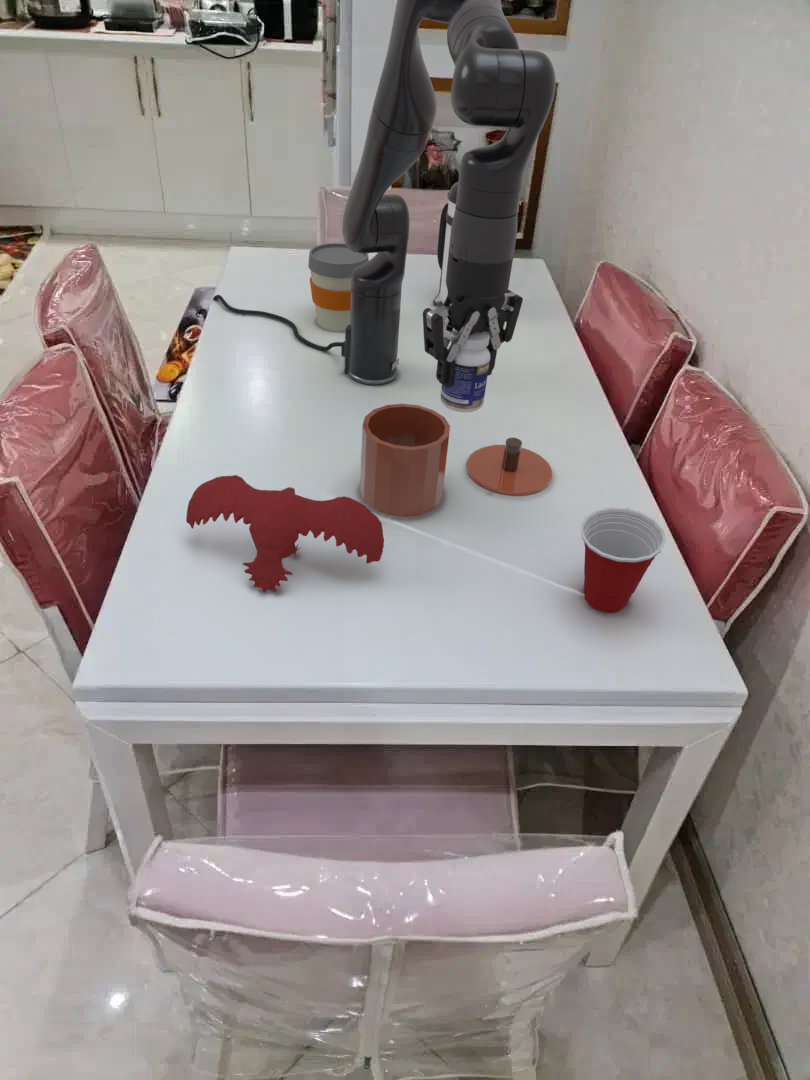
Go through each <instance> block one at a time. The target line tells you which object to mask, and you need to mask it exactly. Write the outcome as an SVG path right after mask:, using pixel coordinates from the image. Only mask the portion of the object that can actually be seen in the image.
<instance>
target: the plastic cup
mask: <svg viewBox="0 0 810 1080" xmlns="http://www.w3.org/2000/svg"><path fill="white" fill-rule="evenodd" d="M579 527H580V528H579V529H580V537H581V539H582V541H583V543H584V564H583V565H584V568H583V576H584V580H583V581H584V582H583V594H584V600H585V601H586V603H587V604H588V605H589V606H591V608H593V609H594V610H597V611H598V612H602V613H608V614H609V613H610V614H612V613H618V612H619V611H621V610H623V609H624V608H625V607H626V606H627V604H628V602H629V600H630V599H631V597H632V595H633V594H634V593H635V592H636V590H637V588H638V586H639V584H640V583H641V581H642V579H643V577H644V576H645V574H646V572H647V570H648V569H649V567H650V566H651V564H652V562H653V561H654V560H655V558H656V557H657V555H659V554H660V553H661V552H662V551H663V549H664V547H665V544H666V542H667V536H666V533H665V529H664V528H663V527H662V526H661V525H660V524H659V523H658V521H657V520H656V519H654V518H652V517H651V516H649V515H647V514H645V513H643V512H641V511H637V510H634V509H631V508H627V507H607V508H602V509H597V510H594V511H593V512H591V513H590V514H588V515H586V516H585V517H584V518H583V520H582V521H581V524H580V525H579Z"/></svg>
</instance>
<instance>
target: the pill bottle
mask: <svg viewBox="0 0 810 1080" xmlns="http://www.w3.org/2000/svg"><path fill="white" fill-rule="evenodd" d="M453 333H455V334H456V335H458V334H459V332H458V331H457V330H455V329H454V328H453ZM489 337H490V335H489V333H488V332H486V331H483V332H475V333H473V334H471V335H469V336H468V338H467V340H466V342H465V344H464V345H463V346H460V348H459V350H458V352H457V355H456V357H455V359H454V360H455V361H456V362H455V370H454V378H453V385H452V386H451V387H447V388H446V387H445V386H443V385H442V384H441V387H440V388H441V389H440V402H441V404H442V405H443V406H444V407H445V408H447V409H449V410H450V411H454V412H457V413H473V412H476V411H478V410H480V409H481V408H482V407H483V405H484V403H485V395H486V389H487V382H488V370H489V364H490V352H489V350H488V349H487V348H486V347H487V346H488V344H489ZM449 347H450V345H448V347H447V349H449Z"/></svg>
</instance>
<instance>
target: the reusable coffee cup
mask: <svg viewBox="0 0 810 1080" xmlns="http://www.w3.org/2000/svg"><path fill="white" fill-rule="evenodd" d="M369 260H370V259H369V253H357V252H353V251H351V250H350V249H349V248H348V247H347V245H346V244H345V243H342V242H341V243H340V242H332V243H322V244H319V245H316V246H314V247H312V248H311V249H310V250H309V253H308V263H307V264H308V265H307V267H308V269H309V271H310V278H309V284H310V285H309V286H310V291H311V292H310V293H311V300H312V302H313V304H314V307H315V315H316V321H317V325H318V326H319V327H320V328H321V329H324V330H326V331H329V332H330V331H331V332H339V333H341V332H342V333H343V332H345V329H346V326H348V325H349V324H350V305H351V275H352V272H353V270H354V269H355V268H357V267H358V266H360V265H362V264H364V263H366V262H367V261H369Z"/></svg>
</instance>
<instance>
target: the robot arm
mask: <svg viewBox="0 0 810 1080" xmlns="http://www.w3.org/2000/svg"><path fill="white" fill-rule="evenodd" d="M423 20H427V21H433V22H436V23H437V22H438V23H444V24H448V25H447V32H446V42H447V43H446V44H447V48H448V52H449V55H450V57H451V60H452V62H453V65H454V71H453V75H452V80H451V88H450V98H451V99H450V100H451V106H452V109H453V112H454V114H455V115H456V116H457V118H458V119H459V120H461V121H462V122H463V123H465V124H466V125H469V126H474V127H493V128H507V130H506V132H505V133H504V134H503V136H502V137H501V138H500V139H499V140H497V141H495V142H494V143H491V144H488V145H484V146H483V145H482V146H479V147H476V148H472V149H469V150H468V151H465V153H464V154H463V156H461V157H462V158H461V160H460V165H459V170H458V171H459V173H458V180H457V182H458V190H457V199H456V208H455V213H454V217H453V221H452V226H451V235H450V244H449V254H448V263H447V273H446V286H447V290H448V295H447V298H446V300H445V302H444V303H442V304H443V305H442V306H440V307H438V308H435V309H431V308H430V307H426V308H425V309H424V310H423V312H422V326H423V345H424V346H423V347H424V348H423V349H424V352H425V353H427V355H430V356H431V357H433V358H434V359H435V360H436V361H437V363H436V372H435V377H436V380H437V381H438V382H439V384H440V385H441V386H442V385H443V386H445V387H446V388H447V387H451V386H452V385H453V378H454V370H455V362H456V361H455V360H454V359H455V357H456V355H457V352H458V350H459V348H460V346H463V345H464V344H465V342H466V340H467V338H468V336H469V335H471V334H473V333H475V332H483V331H486V332H488V333H489V335H490V337H489V344H488V346H487V347H486V348H487V349H488V350H489V352H490V364H489V370H488V376H491V375H492V374H493V371H494V369H495V366H496V360H497V353H498V350H499V349H500V347H501V345H502V344H503V343H504V342H505V343H509V342H511V341H512V339H513V336H514V332H515V329H516V325H517V322H518V318H519V315H520V312H521V308H522V304H523V302H524V299H523V297H522V296H521V295H519V294H517V293H516V292H514V291H512V290H511V289H509V287H510V281H511V274H512V269H513V268H512V267H513V261H514V257H515V249H516V244H517V243H516V241H517V235H518V217H519V216H518V215H519V209H520V202H521V201H520V200H521V195H522V191H523V182H524V178H525V173H526V170H527V167H528V164H529V162H530V158H531V156H532V154H533V150H534V148H535V145H536V143H537V140H538V137H539V136H540V133H541V131H542V129H543V127H544V125H545V122H546V120H547V118H548V115H549V113H550V111H551V107H552V105H553V101H554V98H555V93H556V86H557V85H556V82H557V80H556V72H555V67H554V65H553V63H552V61H551V59H550V57H549V56H548V55H547V54H546V53H544V52H543V51H539V50H535V49H520V46H519V42H518V41H519V40H518V38H517V36H516V34H515V32H514V30H513V28H512V27H511V24H510V23H509V21H508V20H507V18H506V16H505V14H504V11H503V8H502V0H396V4H395V8H394V16H393V21H392V26H391V31H390V37H389V41H388V42H389V43H388V47H387V52H386V56H385V61H384V63H383V68H382V71H381V75H380V79H379V83H378V86H377V89H376V92H375V97H374V100H373V105H372V109H371V113H370V117H369V122H368V127H367V132H366V137H365V141H364V145H363V150H362V154H361V157H360V162H359V164H358V168H357V171H356V174H355V177H354V179H353V182H352V184H351V189H350V191H349V193H348V196H347V199H346V203H345V205H344V210H343V215H342V225H341V226H342V227H341V228H342V237H343V241H344V244H346V245H347V247H348V248H349V249H350V250H351V251H353V252H357V253H368V254H372V253H375V255H374V256H373V257H372V258H371V259H369V261H367V262H366V263H364V264H362V265H360V266H358V267H357V268H355V269H354V270H353V272H352V275H351V305H350V324H349V325H348V326H346V329H345V331H344V333H345V334H344V335H345V336H344V341H334V342H331V343H329V344H328V345H327V346H323V345H319V344H316V343H314V342H311V341H309V340H308V339H306V338H304V337H303V336H302V335H300V332H299V331H298V328H297V325H296V324H295V323H294V322H293V321H291V320H290V319H288V318H286V317H283V316H280V315H279V314H274V313H271V312H267V311H261V310H252V309H242V308H241V309H240V308H237V307H233V306H231V305H229V303H227V301H226V300H225V299H224V297H223V296H222V295H221V294H216V295H214V297H213V298H212V300H213V301H217V300H219V301H220V303H221V304H222V306H224V308H226V309H227V310H228V311H230V312H232V313H236V314H243V315H256V316H263V317H267V318H271V319H275V320H277V321H281V322H283V323H285V324H286V325H288V326H290V327H291V328H292V330H293V334H294V336H295V337H296V339H297V340H299V341H300V342H301V343H303V344H304V345H306V346H308V347H309V348H312V349H315V350H318V351H324V352H327V351H330V350H331V349H333V348H335V347H340V349H341V350H340V351H341V352H340V354H341V355H340V356H341V357H344V374H346V375H349V377H350V378H351V379H352V380H354V381H355V382H358V383H360V384H365V385H383V384H388V383H391V382H392V381H394V380H395V379H396V377H397V374H398V370H397V369H398V366H399V364H400V357H398V353H399V352H398V351H399V336H400V322H401V321H400V320H401V307H402V306H401V304H402V302H401V301H402V289H403V288H402V287H403V281H404V278H405V272H406V262H407V253H408V244H409V238H410V212H409V208H408V205H407V202H406V200H405V198H404V197H403V196H402V195H399V194H396V193H388V194H385V193H386V192H387V190H388V189H389V188H390V187H391V186H392V185H393V184H394V183H395V182H397V181H398V180H399V179H401V177H402V176H403V175H405V173H406V172H407V171H408V170H409V169H410V168H412V166H414V164H415V163H416V162H417V161H418V160H419V159H420V157H421V156H422V155H423V152H424V151H425V149H426V147H427V144H428V141H429V138H430V135H431V133H432V129H433V126H434V123H435V120H436V116H437V109H438V107H437V106H438V105H437V96H436V92H435V89H434V86H433V83H432V79H431V77H430V74H429V72H428V70H427V66H426V63H425V60H424V57H423V53H422V50H421V49H422V48H421V45H420V39H419V27H420V24H421V22H422V21H423ZM505 324H506V325H505ZM504 327H505V328H504ZM453 329H455V330H457V331H458V332H459V334H458V335H456V334H455V333H453ZM449 346H450V347H449ZM448 347H449V349H447V348H448ZM488 376H487V377H488Z"/></svg>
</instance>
